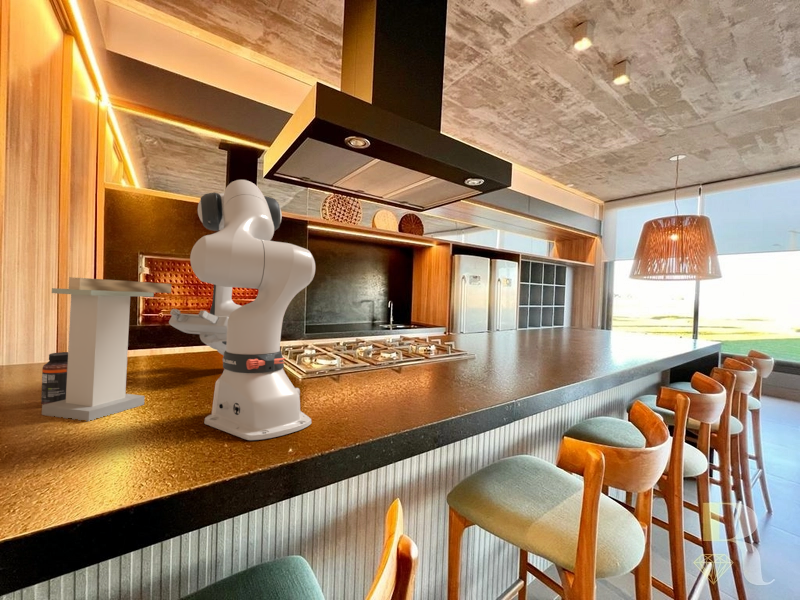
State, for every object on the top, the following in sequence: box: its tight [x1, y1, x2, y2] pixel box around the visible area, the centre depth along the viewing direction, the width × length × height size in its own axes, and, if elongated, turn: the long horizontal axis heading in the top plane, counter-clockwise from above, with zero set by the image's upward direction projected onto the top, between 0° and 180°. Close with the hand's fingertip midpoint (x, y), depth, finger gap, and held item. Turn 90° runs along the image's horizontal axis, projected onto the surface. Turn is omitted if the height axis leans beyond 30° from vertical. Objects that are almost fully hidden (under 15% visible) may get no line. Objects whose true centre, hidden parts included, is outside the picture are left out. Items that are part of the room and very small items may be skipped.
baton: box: [68, 277, 172, 294], centre depth 82 cm, size 22×3×2 cm, turn 169°
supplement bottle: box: [40, 351, 68, 406], centre depth 79 cm, size 6×6×11 cm
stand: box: [41, 287, 155, 422], centre depth 77 cm, size 14×12×26 cm
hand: (187, 311), depth 99 cm, fingers open, 8 cm apart
